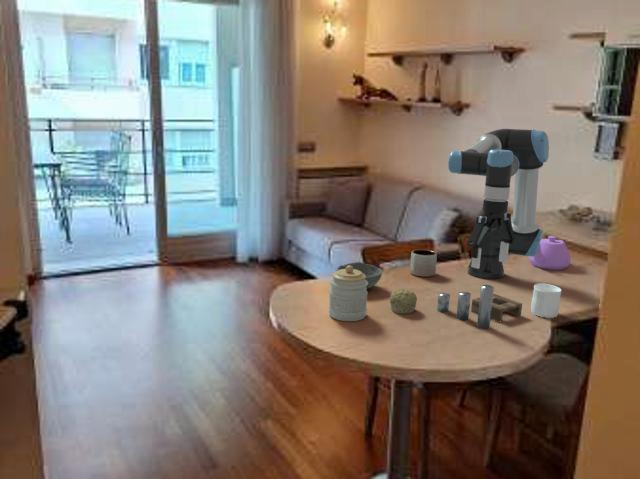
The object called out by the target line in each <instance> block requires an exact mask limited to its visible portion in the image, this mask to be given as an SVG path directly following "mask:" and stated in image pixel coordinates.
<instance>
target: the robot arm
mask: <svg viewBox="0 0 640 479" xmlns="http://www.w3.org/2000/svg"><path fill="white" fill-rule="evenodd" d="M548 136H549V135H548V134H547V133H546V131H544V130H536V129H521V128H519V129H514V128H501V129H495V130H493V131H489V132H487V133H485V134H483V135H481V136H480V137H479V138H478V139H477V141H476V143H474V144H473V145H471V146H470V147H468V148H467V149H464V150H452V151H451V152H450V154H449V156H448V160H447V161H448V162H447V166H448V167H447V169H448V171H449V172H450V173H452V174H457V175H468V176H469V175H471V176H482V177H485V184H484V194H483V197H484V200H483V202H482V203H483V204H482V211H483V212H484V215H483V216H481V215H477V216H476V221H475V222H476V223H475V225H474V227H473V229H472V231H471V233H470V237H469V239H468V242H467V246H469V247H470V248H471V260H470V262H469V264H468V267H467V273H468V274H469V275H470V276H473V277H476V278H479V279H487V280H488V279H489V280H492V279H497V280H498V279H501V278H504V277H505V268H504V264H507V263H508V256H509V254H510V255H518V256H522V257H529V256H531V257H533V256H535V255H536V254H537V251H538V248H539V245H540V241H541V239H542V237H543V231H544V230H543V229H540V226H539V223H538V222H537V221H536V216H537V214H536V212H537V201H538V200H537V198H538V184H539V183H538V182H539V173H540V169H541V168H543V166H544V163H546V162H547V161H548V159H549V151H550V150H549V149H550V146H549V144H550V143H549V137H548ZM513 176H514V188H513V189H514V192H513V193H514V194H513V195H514V196H513V211H512V213H513V215H512V214H511V213H510V212H509V213H508V208H509V201H508V200H509V199H510V190H511V179H512V177H513ZM503 263H504V264H503Z"/></svg>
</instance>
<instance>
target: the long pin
mask: <svg viewBox="0 0 640 479" xmlns="http://www.w3.org/2000/svg"><path fill="white" fill-rule="evenodd" d="M494 289H495V287H494V286H493V285H491V284H481V286H480V293H479V298H480V302H479V312H478V314H477V324H476V327H477V328H478V329H480V330H489V329H491V328H490V327H491V320H492V319H491V310H492V300H493V294H494Z"/></svg>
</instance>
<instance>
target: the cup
mask: <svg viewBox="0 0 640 479" xmlns="http://www.w3.org/2000/svg"><path fill="white" fill-rule="evenodd" d="M561 295H562V289H561V288H560V287H559V286H558V285H557V286H556V285H553V284H549V283H543V282H542V283H541V282H539V283H535V284H534V285H533V293H532V298H531V303H530V311H531V313H532V314H533V315H534V316H536V315H537V316H536V317H538V316H540V317H539V318H543V317H546V318H545V319H554V317H555V318H556V317H558V315H559V310H560V301H561Z"/></svg>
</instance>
